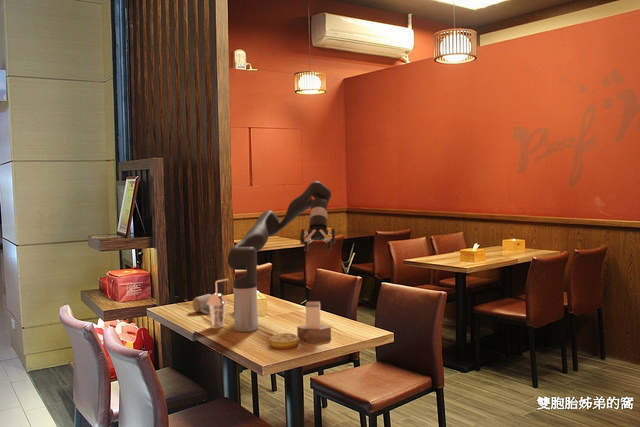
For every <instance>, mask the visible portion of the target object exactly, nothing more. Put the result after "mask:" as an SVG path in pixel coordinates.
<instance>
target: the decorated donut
mask: <svg viewBox="0 0 640 427" xmlns="http://www.w3.org/2000/svg"><path fill="white" fill-rule="evenodd" d="M268 341H269V344H270V347H272V348H274V349H276V350H277V349H278V350H288V349H291V348H295V347H296V346H297V345H298V343H299V341H300V339H299V338H298V337H297V334H294V333H287V332H284V333H279V334H274V335H272V336H270V338H269V340H268Z"/></svg>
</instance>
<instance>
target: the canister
mask: <svg viewBox="0 0 640 427" xmlns="http://www.w3.org/2000/svg"><path fill="white" fill-rule="evenodd" d="M321 324H322V322H321V301H306V303H305V325H306V329H320V326H321Z"/></svg>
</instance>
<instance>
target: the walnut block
mask: <svg viewBox="0 0 640 427" xmlns="http://www.w3.org/2000/svg"><path fill="white" fill-rule="evenodd" d="M296 328H297V329H296V330H297V334H296V336H297V337H298V338H299V341H300V340H301V341H303V342H306V343H308V344H317V343H320V342H325V341H329V340H332V327H330V326H328V325H324V324H322V323H321V326H320V329H306V324H305V325H304V324H303V325H297V327H296Z"/></svg>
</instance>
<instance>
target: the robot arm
mask: <svg viewBox="0 0 640 427" xmlns="http://www.w3.org/2000/svg"><path fill="white" fill-rule="evenodd" d="M331 197H332V192H331V190H330V188H328V187H327V186H326V185H325V184H323V183H322V182H320V181H318V180H314V181H312V182H310V184H308V186H307V187H306V189H305V190H304V191H303V192H302V193H301V194H300V195H298V196H297V197H295V198H294V199H292V201H291V202H290V203H289V205H288V208H287V210H286V213H285V215H284V217H283V219H282V220H280V218H279V217H278V216H277V215H276V214H275V212H274V211H273V210H270V209H269V210H265V211H264V212H263V213H261V214H260V215H259V216H258V218H257V219H256V220H255V223H254V225H253V226H252V227H251V228H250V229H249V230H248V231H247V232H246V233H245V235H244V236H243V238H242V239H241V240H240V241H239V242H238V243H236V244H235V245H233V246H232V247H231V248H230V249H229V250H230V251H229V252H228V255H227V264H228V267H229V268H230V269H232V270H235V271H246V272H245V274H244V275H243V276H241V277H238V278H235V279H234V280H233V282H232V283H233V286H232V287H233V289H232V290H233V320H234V321H233V323H234V325H233V326H234V330H235V331H236V332H239V333H248V332H249V333H250V332H254V331H257V330H259V322H258V321H259V320H258V318H259V317H258V316H259V314H258V290H257V289H258V288H257V287H258V286H257V280H258V277H257V275H258V272H257V271H258V267H257V266H258V254H257V252H259V251H261V250H262V249H263V248H264V247H265V245H266V244H267V243H268V239H269V237H272V236H274V235H276V234H278V233H279V232H280V231H282V230H283V229H284V228H285V227H286V226H288V224H290V223H291V222H292V221H293V220H295V219H296V218H297V217H298V216H299V215H301V214H302V213H304V212H306V211H307V210H309V209H310V214H309V219H308V220H309V222H308V223H309V224H308V226H309V227H308V230H304V229H301V231H300V235H299V236H300V238H299V240H300V245H304V246H303V248H304V249H303V250H304V252H305V253H309V244H310V243H312V242H313V241H323V242H325V243H326V252H328V253H329V252H330V251H331V249H332V248H331V247H332V244H336V234H335V231H336V230H335V228H331V230H330V229H329V230H328V217H329V216H328V205H329V202H330V199H331ZM328 234H329V235H330V236H331V238H330V237H329V236H328ZM306 236H307V237H306ZM305 237H306V238H305Z"/></svg>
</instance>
